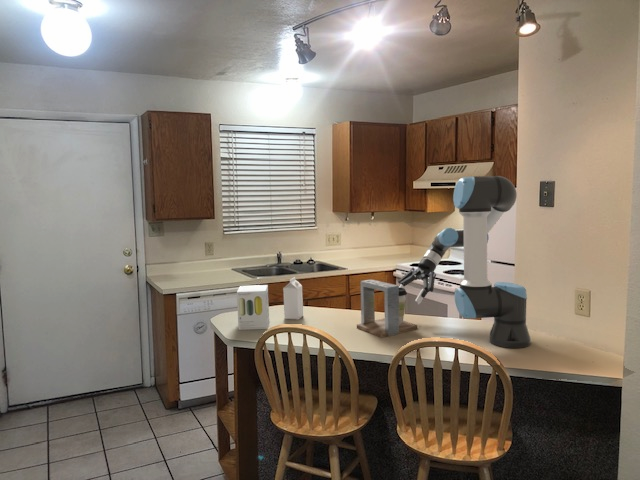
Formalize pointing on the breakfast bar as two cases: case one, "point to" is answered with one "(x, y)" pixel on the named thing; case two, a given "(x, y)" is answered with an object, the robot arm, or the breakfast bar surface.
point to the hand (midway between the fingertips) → (406, 299)
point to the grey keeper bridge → (390, 304)
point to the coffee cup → (402, 304)
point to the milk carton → (293, 300)
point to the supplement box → (253, 307)
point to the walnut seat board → (379, 327)
